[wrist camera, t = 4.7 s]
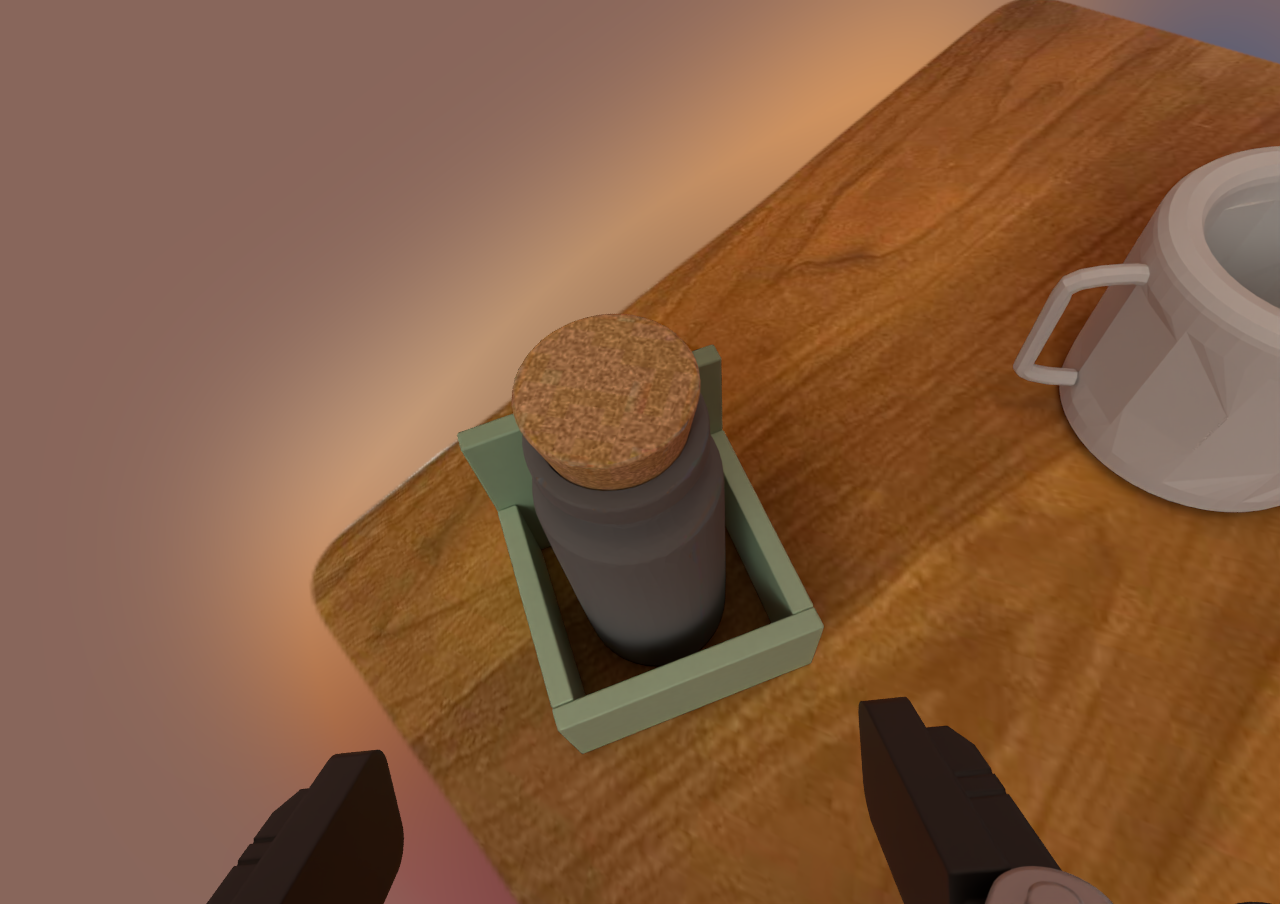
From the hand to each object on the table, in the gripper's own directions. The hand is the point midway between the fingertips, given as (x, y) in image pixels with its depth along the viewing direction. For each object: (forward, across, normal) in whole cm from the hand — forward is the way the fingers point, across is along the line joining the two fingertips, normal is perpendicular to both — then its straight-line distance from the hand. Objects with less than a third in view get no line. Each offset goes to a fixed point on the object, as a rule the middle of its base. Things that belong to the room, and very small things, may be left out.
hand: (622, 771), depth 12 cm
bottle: (+18, 0, +5) cm, 19 cm away
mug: (+22, -23, +1) cm, 32 cm away
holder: (+18, 0, +5) cm, 18 cm away
